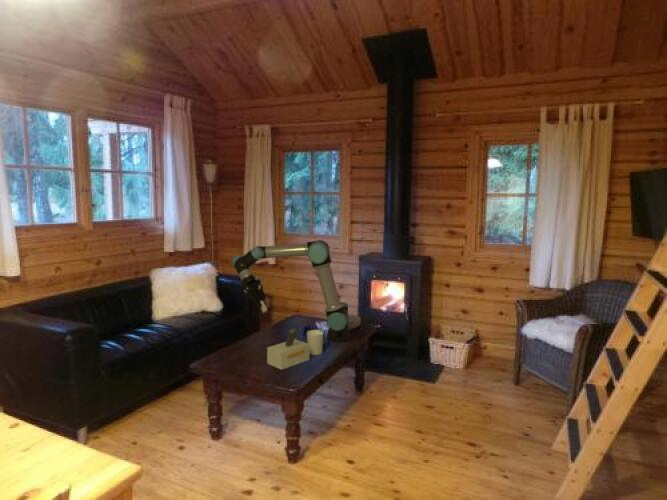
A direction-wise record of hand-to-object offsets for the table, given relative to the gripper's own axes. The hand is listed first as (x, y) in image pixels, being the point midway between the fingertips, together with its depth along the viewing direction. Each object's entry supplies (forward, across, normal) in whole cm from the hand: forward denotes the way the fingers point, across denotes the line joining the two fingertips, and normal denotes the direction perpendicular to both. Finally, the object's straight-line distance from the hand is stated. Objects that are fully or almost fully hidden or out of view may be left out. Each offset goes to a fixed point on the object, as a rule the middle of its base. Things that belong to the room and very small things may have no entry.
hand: (265, 311), depth 264 cm
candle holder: (+32, -20, -3) cm, 38 cm away
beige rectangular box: (+32, 0, -3) cm, 32 cm away
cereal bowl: (+20, -68, -15) cm, 73 cm away
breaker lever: (+25, 0, +4) cm, 25 cm away
